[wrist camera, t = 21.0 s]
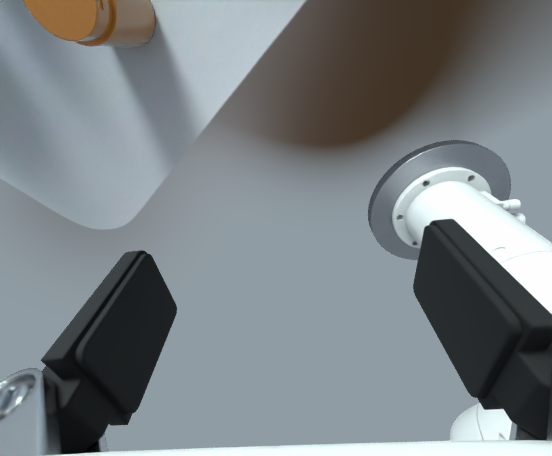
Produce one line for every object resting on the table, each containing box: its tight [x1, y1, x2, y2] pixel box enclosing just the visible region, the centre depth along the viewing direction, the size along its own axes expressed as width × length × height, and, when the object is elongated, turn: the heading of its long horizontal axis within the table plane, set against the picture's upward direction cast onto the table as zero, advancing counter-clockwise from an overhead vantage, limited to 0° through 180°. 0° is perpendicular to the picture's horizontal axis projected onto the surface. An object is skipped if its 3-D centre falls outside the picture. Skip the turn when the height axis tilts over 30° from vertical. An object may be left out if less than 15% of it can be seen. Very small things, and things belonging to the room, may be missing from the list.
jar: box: [23, 0, 155, 48], centre depth 24 cm, size 6×6×10 cm
